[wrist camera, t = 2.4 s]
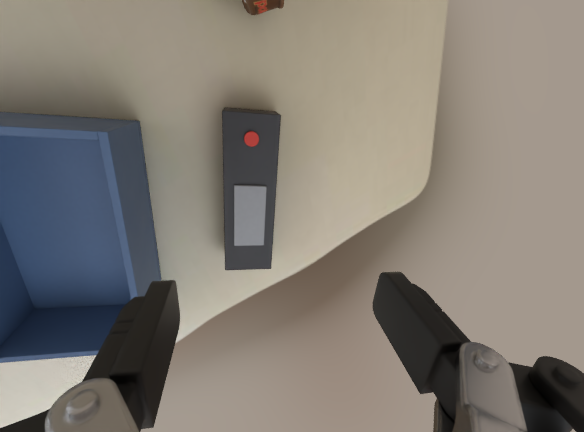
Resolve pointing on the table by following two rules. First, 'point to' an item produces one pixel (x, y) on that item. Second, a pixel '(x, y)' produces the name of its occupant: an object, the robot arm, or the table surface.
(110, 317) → the open blue packaging tray
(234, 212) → the remote
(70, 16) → the table surface
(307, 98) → the table surface
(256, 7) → the tin
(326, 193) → the table surface
